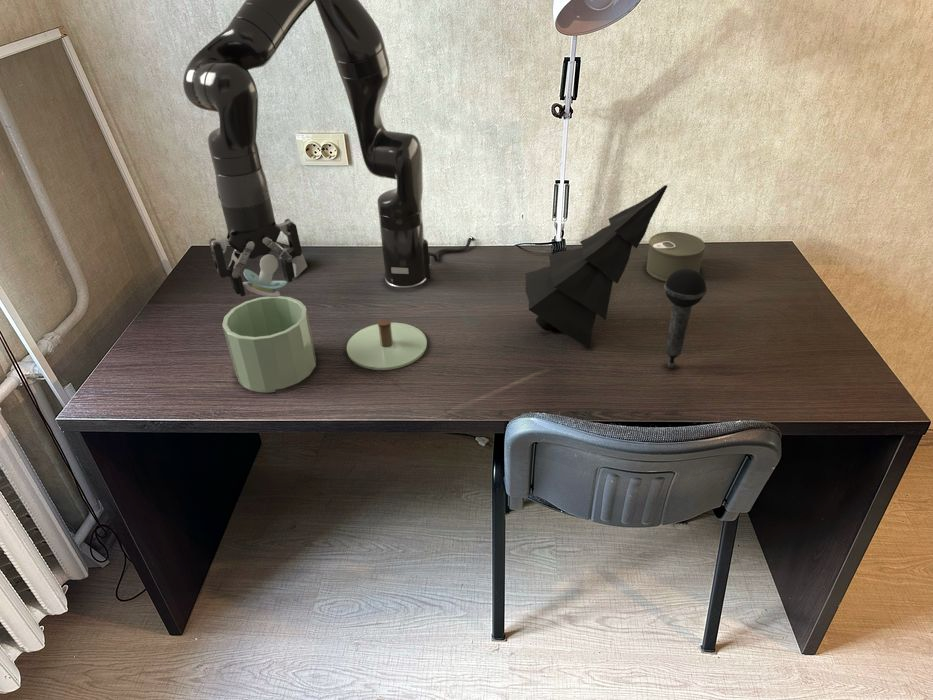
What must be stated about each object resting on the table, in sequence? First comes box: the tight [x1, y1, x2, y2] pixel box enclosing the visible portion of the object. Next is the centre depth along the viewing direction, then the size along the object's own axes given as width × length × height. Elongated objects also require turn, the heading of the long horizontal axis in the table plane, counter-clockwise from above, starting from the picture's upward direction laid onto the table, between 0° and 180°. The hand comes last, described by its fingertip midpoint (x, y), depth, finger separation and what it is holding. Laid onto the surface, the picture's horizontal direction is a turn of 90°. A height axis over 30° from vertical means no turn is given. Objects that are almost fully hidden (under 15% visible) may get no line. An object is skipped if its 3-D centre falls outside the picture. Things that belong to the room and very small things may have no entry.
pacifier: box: [242, 253, 288, 297], centre depth 113 cm, size 7×6×6 cm
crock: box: [221, 295, 317, 394], centre depth 122 cm, size 14×14×12 cm
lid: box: [346, 318, 428, 371], centre depth 128 cm, size 15×15×6 cm
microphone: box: [663, 268, 708, 369], centre depth 116 cm, size 7×7×20 cm
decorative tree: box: [525, 184, 668, 349], centre depth 125 cm, size 15×15×35 cm
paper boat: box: [276, 240, 308, 278], centre depth 157 cm, size 12×6×9 cm
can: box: [646, 231, 706, 282], centre depth 150 cm, size 12×12×7 cm
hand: (265, 287), depth 114 cm, fingers closed on pacifier, 8 cm apart
